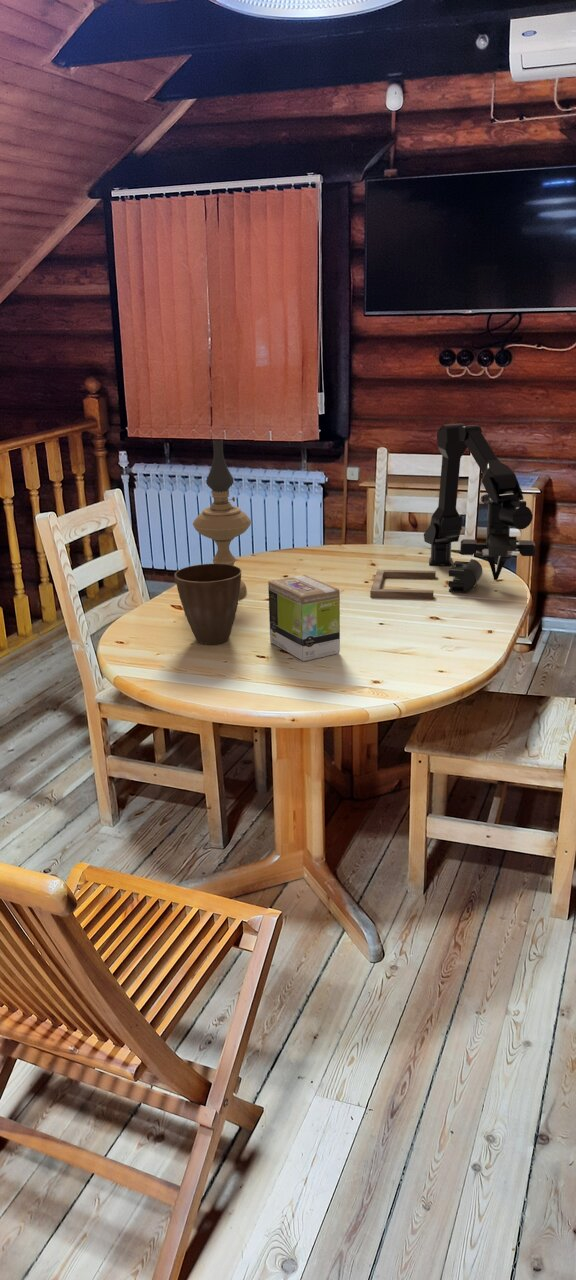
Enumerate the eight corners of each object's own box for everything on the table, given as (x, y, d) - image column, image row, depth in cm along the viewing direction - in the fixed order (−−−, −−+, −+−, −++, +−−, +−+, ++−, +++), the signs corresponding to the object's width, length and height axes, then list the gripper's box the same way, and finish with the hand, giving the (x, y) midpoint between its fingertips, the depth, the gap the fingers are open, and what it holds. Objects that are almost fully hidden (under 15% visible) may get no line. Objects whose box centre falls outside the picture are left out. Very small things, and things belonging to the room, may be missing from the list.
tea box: (341, 653, 205) (341, 588, 200) (302, 663, 200) (300, 596, 195) (306, 634, 217) (305, 572, 212) (268, 642, 213) (266, 579, 208)
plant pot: (172, 650, 210) (166, 581, 204) (187, 627, 223) (183, 562, 218) (237, 651, 208) (234, 582, 202) (249, 629, 221) (247, 563, 216)
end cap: (475, 595, 241) (476, 569, 239) (447, 592, 244) (448, 567, 242) (482, 584, 250) (483, 559, 248) (455, 582, 253) (456, 557, 250)
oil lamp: (264, 595, 245) (259, 440, 231) (214, 606, 238) (205, 447, 224) (236, 582, 257) (229, 434, 243) (187, 592, 250) (177, 440, 236)
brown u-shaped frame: (377, 575, 260) (377, 569, 260) (435, 576, 258) (435, 570, 257) (370, 597, 242) (370, 591, 241) (433, 598, 239) (433, 592, 239)
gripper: (461, 527, 234) (459, 587, 239) (538, 529, 230) (534, 590, 236) (461, 517, 244) (459, 575, 249) (535, 518, 241) (531, 577, 246)
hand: (495, 579), depth 245 cm, fingers closed
